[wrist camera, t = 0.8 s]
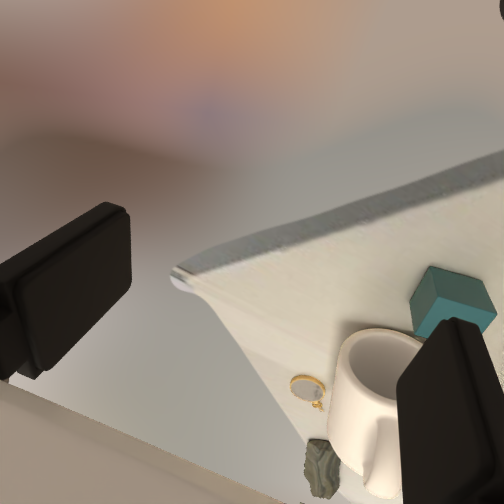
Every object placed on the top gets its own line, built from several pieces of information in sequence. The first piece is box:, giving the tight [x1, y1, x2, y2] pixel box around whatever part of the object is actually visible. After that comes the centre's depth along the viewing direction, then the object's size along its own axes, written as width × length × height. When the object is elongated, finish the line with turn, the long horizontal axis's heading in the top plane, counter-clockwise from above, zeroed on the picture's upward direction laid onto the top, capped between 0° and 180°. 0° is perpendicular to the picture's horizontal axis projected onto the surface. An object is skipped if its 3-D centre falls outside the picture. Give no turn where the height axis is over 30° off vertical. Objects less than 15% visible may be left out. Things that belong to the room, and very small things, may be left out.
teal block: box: [410, 266, 497, 339], centre depth 26 cm, size 4×4×4 cm
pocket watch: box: [290, 375, 325, 412], centre depth 39 cm, size 6×4×1 cm, turn 29°
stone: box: [304, 440, 341, 499], centre depth 45 cm, size 12×2×5 cm
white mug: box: [327, 328, 423, 499], centre depth 29 cm, size 8×10×12 cm
